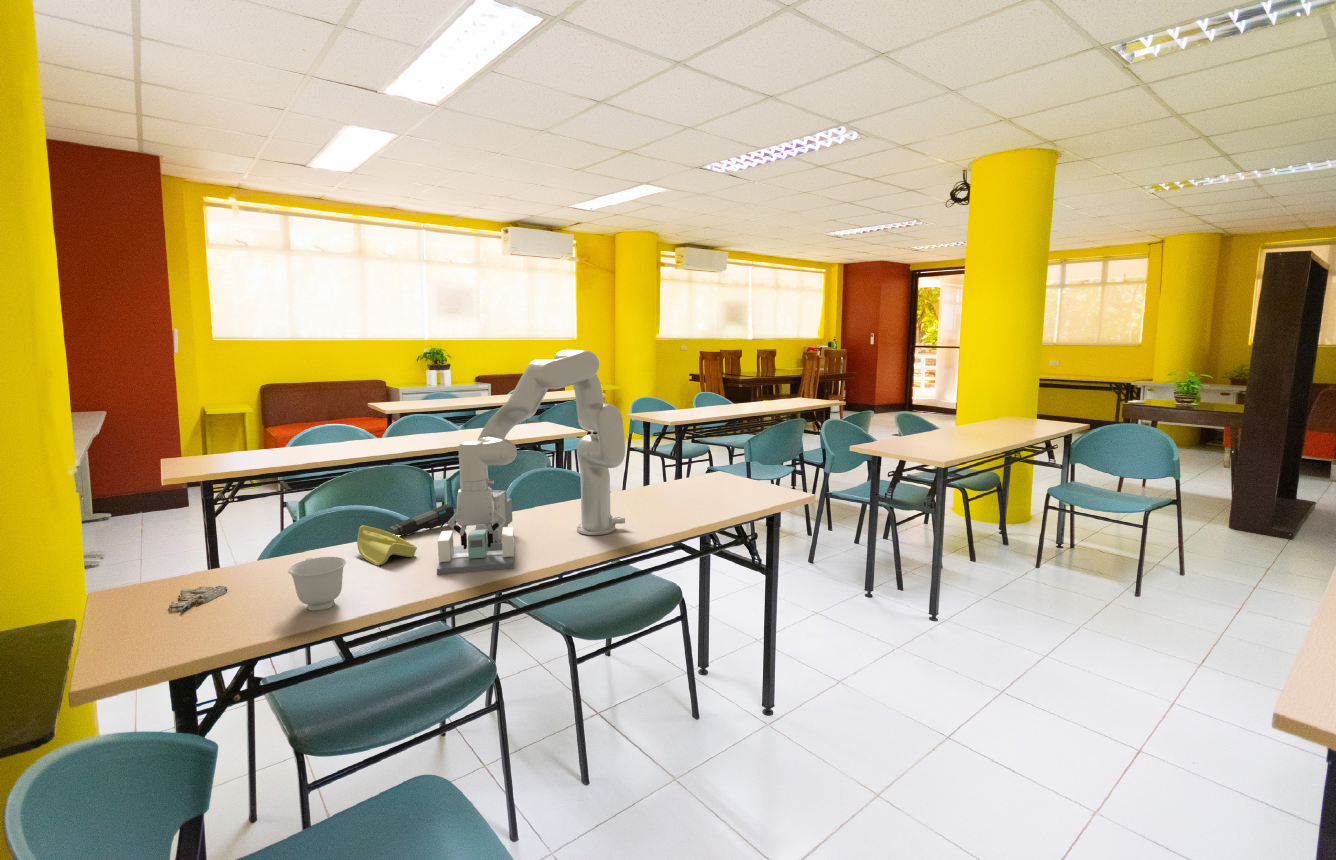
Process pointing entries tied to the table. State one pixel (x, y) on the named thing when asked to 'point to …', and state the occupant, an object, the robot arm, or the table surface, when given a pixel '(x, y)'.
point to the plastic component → (381, 545)
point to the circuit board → (196, 597)
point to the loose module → (477, 544)
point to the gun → (424, 521)
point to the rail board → (459, 559)
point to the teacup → (318, 581)
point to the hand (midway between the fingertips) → (477, 546)
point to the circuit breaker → (503, 509)
